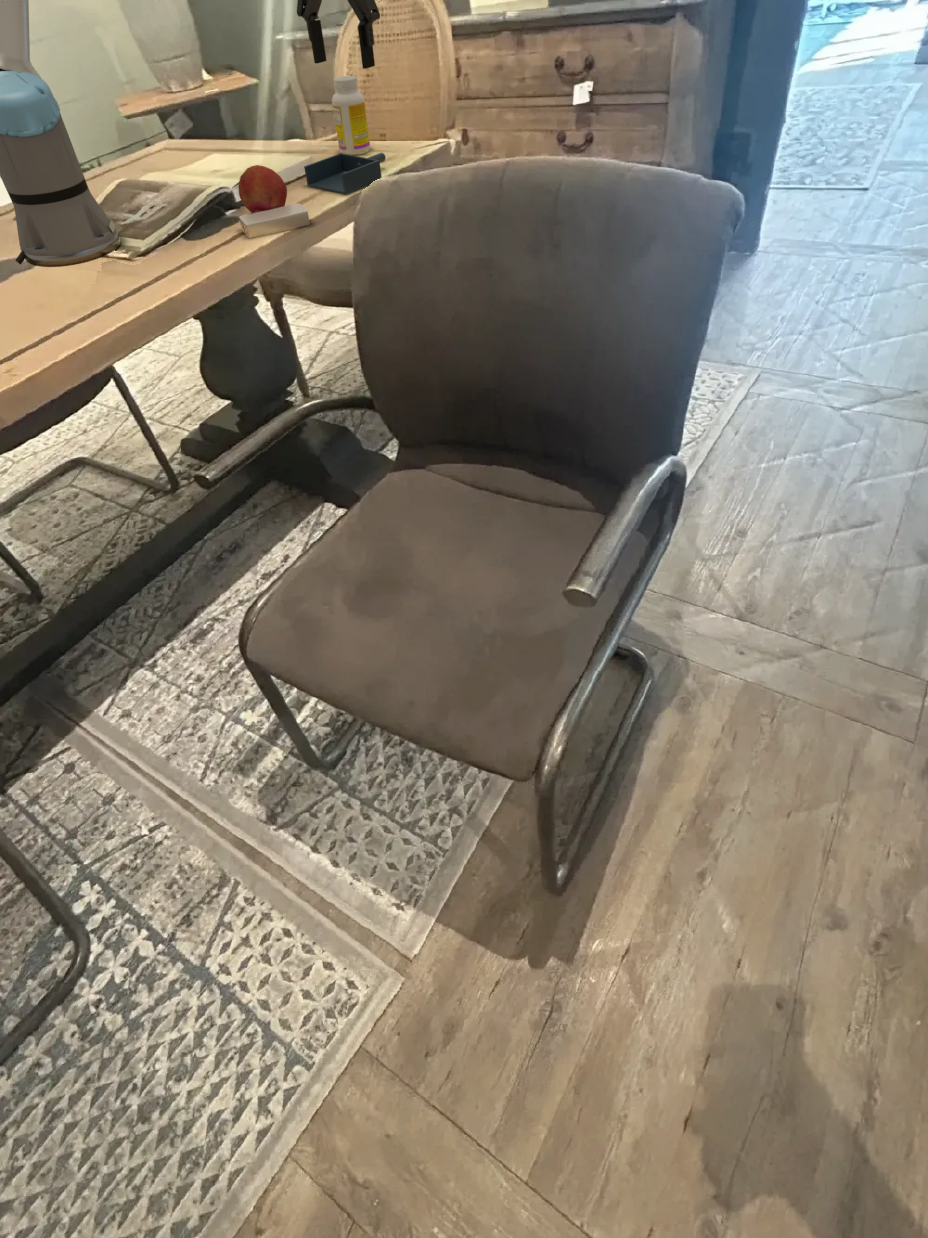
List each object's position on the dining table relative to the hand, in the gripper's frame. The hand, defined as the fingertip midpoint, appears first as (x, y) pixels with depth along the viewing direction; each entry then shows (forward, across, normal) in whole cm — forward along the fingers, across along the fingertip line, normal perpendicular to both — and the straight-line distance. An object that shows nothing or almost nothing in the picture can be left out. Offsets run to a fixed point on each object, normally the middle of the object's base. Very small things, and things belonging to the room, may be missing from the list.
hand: (344, 64), depth 143 cm
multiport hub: (+12, -21, +42) cm, 48 cm away
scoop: (+15, -14, +14) cm, 25 cm away
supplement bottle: (+15, 0, 0) cm, 15 cm away
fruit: (+8, -14, +35) cm, 39 cm away
